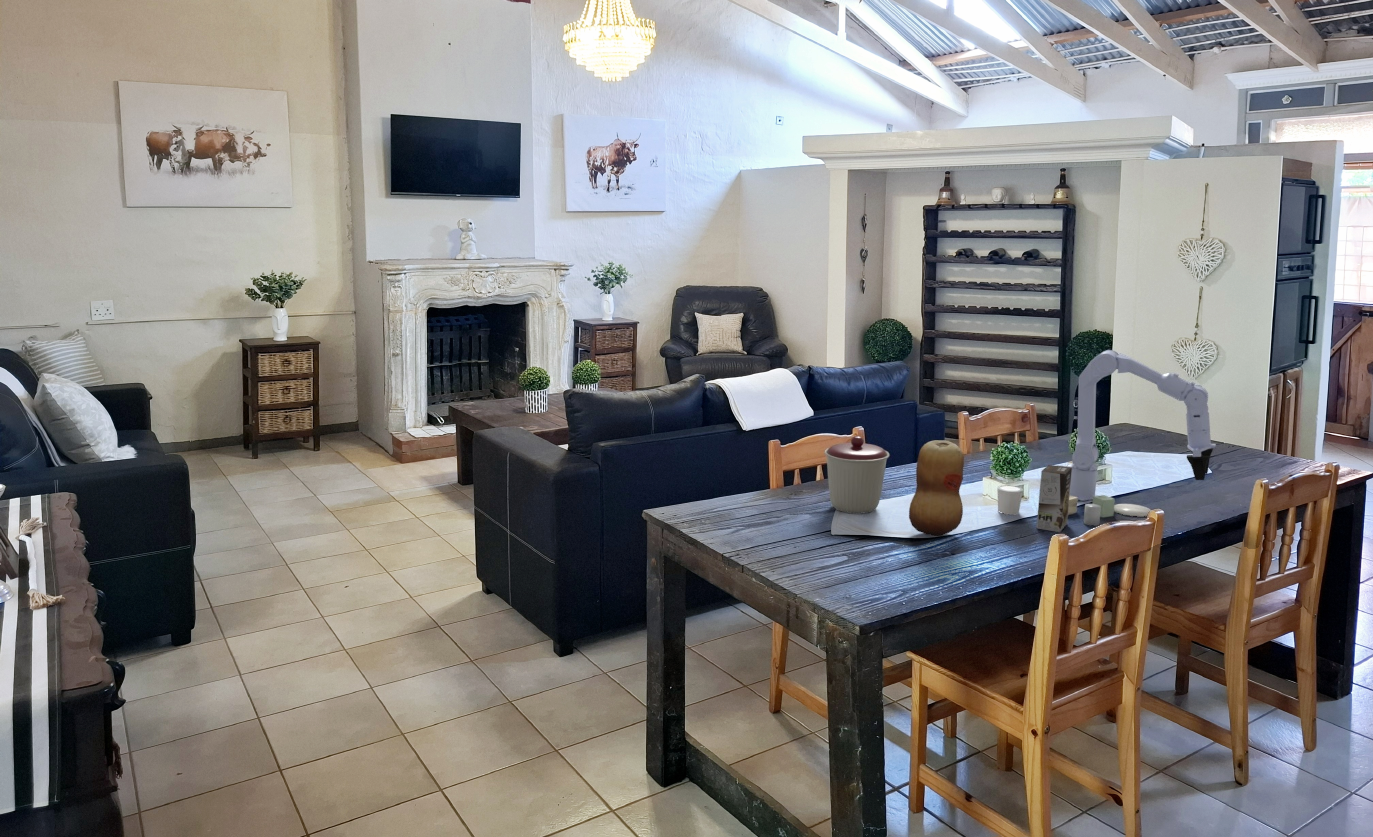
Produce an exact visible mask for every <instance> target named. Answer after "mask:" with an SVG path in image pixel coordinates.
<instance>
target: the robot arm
mask: <svg viewBox="0 0 1373 837" xmlns="http://www.w3.org/2000/svg"><path fill="white" fill-rule="evenodd" d="M1116 371H1117V374H1125V373H1129V374H1130V373H1131V374H1133V375H1134V376H1136V377H1140V378H1142V379H1144V380H1146V381H1149V382H1151V383H1153V384H1155V385H1156V386H1157V389H1158V391H1159V392H1161V393H1163V394H1165V395H1167V396H1168V397H1171V398H1173V399H1175V400H1177V401H1179V402H1183V403H1184V404H1185V406H1186V413H1185V416H1186V417H1185V419H1186V431H1187V432H1186V433H1187V445H1186V446H1187V449H1188V450H1189V451H1190V452H1191V454H1186V459H1187V461H1188V462H1189V465H1190V467H1191V470H1192V472H1193V477H1194V479H1195V480H1196V481H1204V480H1205V478H1206V475H1207V474H1208V472H1209V466H1210V465H1209V464H1210V459H1211V455H1212V453H1213V450H1214V448H1216V446H1217V444H1216V443H1212V442H1211V441H1212V440H1211V425H1210V424H1211V423H1210V413H1209V405H1208V401H1209V392H1208V391H1207V390H1206V388H1204V387H1203V386H1202V385H1200V384H1199V385H1198V384H1196V383H1195V382H1193V381H1192V382H1189V381H1187V380H1185V379H1183V378H1181V377H1179V375H1180V374H1178V373H1177V372H1174V373H1171V372H1168V373H1164V374H1163V373H1161V372H1158V371H1157V370H1155V369H1153V368H1151V367H1149V366H1148V365H1145V364H1144V363H1142V362H1140V361H1139V360H1136V359H1135V358H1132V357H1130V356H1128V355H1127V354H1123V353H1119V352H1117V351H1115V350H1112V349H1107V350H1104V351H1102V352H1100V353H1099V354H1097V355H1096V356H1095V357H1093V359H1091V360H1090V361H1089V362H1088V364H1087V366H1086V367H1085V368H1084V370H1083V371H1082V372H1081V373H1080V374H1079V376H1078V391H1077V392H1078V394H1077V395H1078V397H1077V401H1078V402H1077V436H1076V437H1077V438H1076V442H1075V450H1074V452H1073V454H1072V455H1071V462H1072V463H1071V464H1068V465H1066V467H1072V473H1071V484H1070V496H1074V497H1078V501H1081V502H1084V501H1090V500H1092V501H1093V497H1094V496H1099V495H1097V494H1096V489H1097V478H1098V466H1097V464H1096V461H1097V460H1098V459H1099V456H1100V450H1099V448H1098V446H1097V438H1096V405H1097V404H1096V402H1097V401H1096V400H1097V395H1096V394H1097V383H1098V382H1099V381H1100V380H1102V379H1103V378H1105V377H1107V376H1110V375H1112V374H1113V373H1114V372H1116Z"/></svg>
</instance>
